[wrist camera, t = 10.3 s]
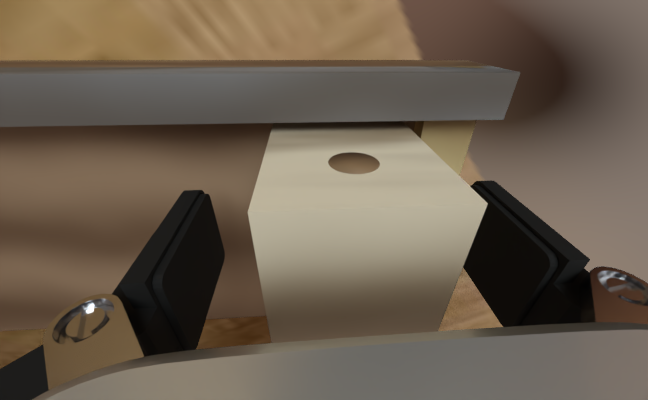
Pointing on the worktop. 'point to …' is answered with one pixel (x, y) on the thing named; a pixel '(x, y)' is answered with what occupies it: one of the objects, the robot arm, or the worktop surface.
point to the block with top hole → (358, 230)
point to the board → (184, 156)
